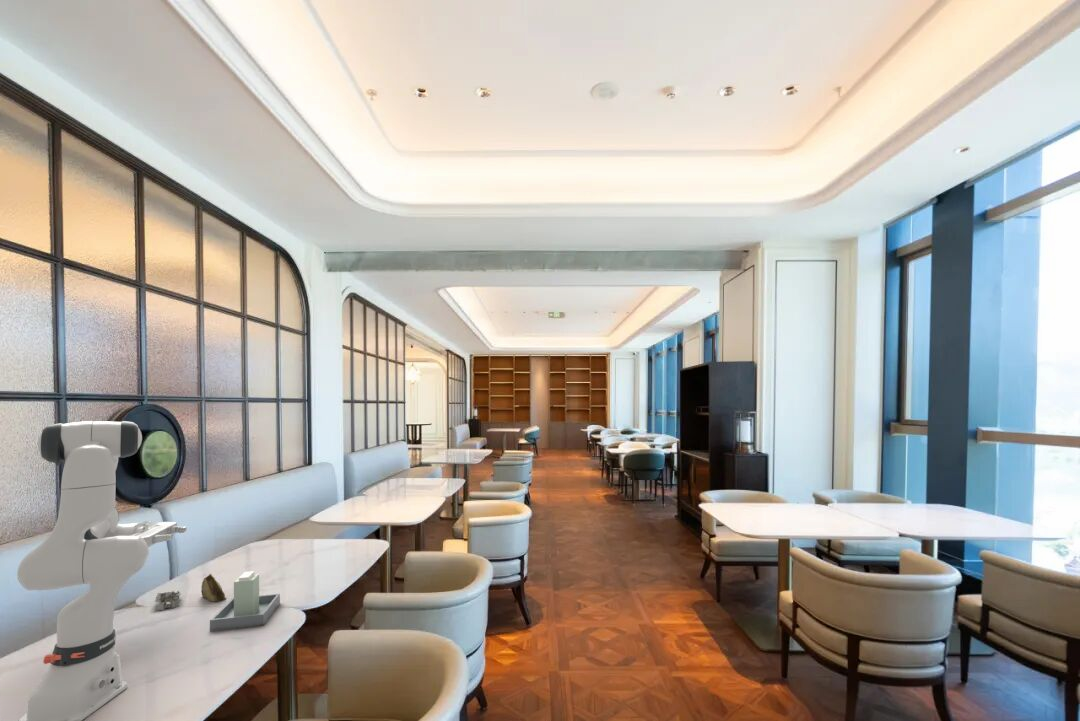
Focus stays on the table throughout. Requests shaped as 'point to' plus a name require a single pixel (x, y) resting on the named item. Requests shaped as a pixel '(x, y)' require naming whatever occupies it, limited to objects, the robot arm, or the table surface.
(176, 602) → the grey carved figurine
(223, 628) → the tray
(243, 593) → the juice carton
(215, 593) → the rock
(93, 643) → the robot arm
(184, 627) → the table surface
